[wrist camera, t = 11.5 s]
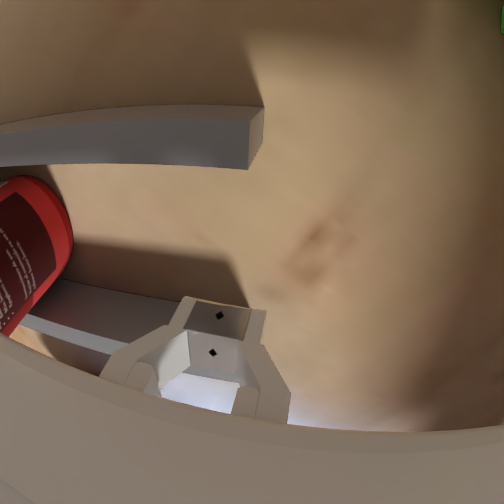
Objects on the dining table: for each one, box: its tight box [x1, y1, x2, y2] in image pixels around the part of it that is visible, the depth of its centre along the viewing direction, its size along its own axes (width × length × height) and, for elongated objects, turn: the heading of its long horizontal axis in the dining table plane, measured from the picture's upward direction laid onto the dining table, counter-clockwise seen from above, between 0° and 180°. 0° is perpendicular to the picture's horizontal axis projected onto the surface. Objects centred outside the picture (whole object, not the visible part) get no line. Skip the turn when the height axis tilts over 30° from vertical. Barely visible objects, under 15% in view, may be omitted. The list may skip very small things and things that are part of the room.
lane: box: [0, 105, 264, 383], centre depth 14 cm, size 13×24×9 cm, turn 87°
